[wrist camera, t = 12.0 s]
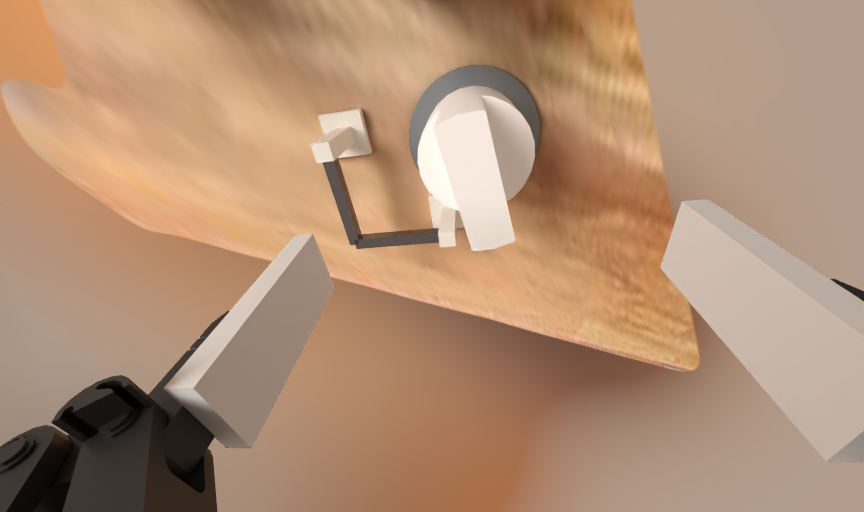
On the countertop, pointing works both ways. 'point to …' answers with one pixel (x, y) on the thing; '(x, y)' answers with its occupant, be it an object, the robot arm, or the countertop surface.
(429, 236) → the bent wire
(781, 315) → the robot arm
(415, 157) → the coaster
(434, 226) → the wire posts
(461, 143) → the base with upright slab
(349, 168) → the countertop surface
